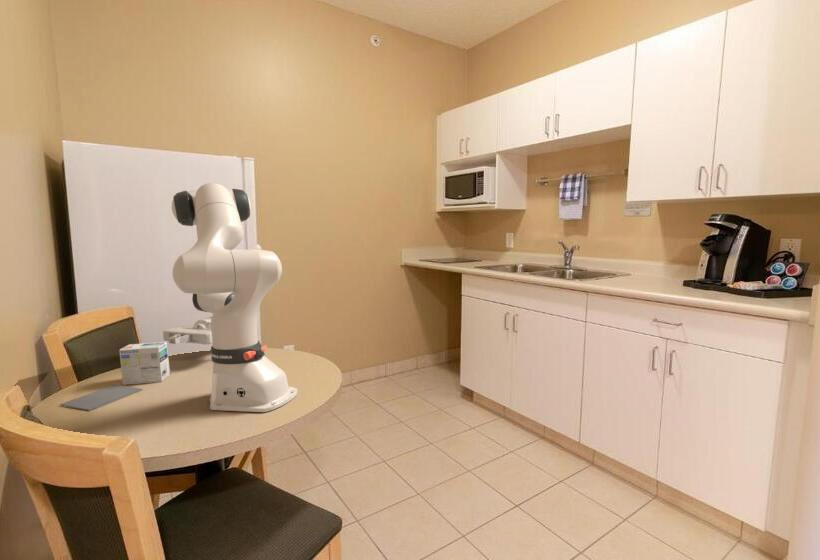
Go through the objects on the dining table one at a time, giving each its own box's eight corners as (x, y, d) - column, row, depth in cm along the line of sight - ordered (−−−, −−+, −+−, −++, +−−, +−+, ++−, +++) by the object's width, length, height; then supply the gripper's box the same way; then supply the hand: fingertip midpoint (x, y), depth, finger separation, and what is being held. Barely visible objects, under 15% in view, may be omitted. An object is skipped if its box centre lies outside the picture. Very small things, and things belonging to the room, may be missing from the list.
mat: (142, 390, 113) (142, 388, 113) (89, 411, 100) (89, 409, 100) (114, 385, 117) (114, 384, 117) (59, 405, 104) (59, 404, 104)
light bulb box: (170, 374, 126) (167, 340, 125) (162, 382, 119) (159, 346, 118) (132, 377, 124) (128, 343, 122) (121, 385, 117) (118, 349, 116)
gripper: (183, 320, 145) (147, 329, 132) (228, 323, 139) (195, 333, 126) (184, 337, 146) (149, 348, 133) (230, 341, 139) (197, 353, 126)
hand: (172, 341), depth 129 cm, fingers closed
